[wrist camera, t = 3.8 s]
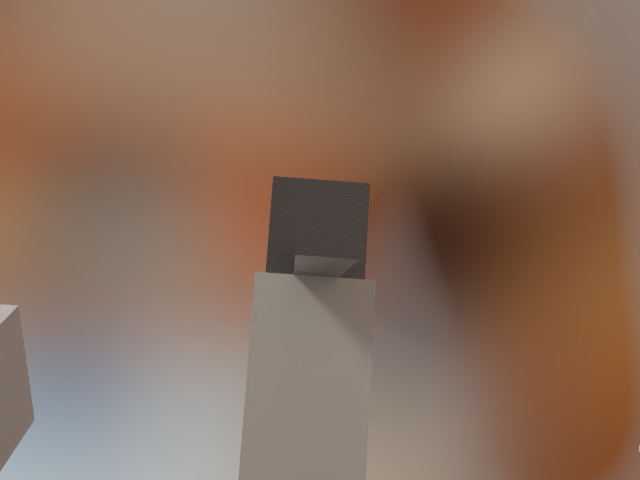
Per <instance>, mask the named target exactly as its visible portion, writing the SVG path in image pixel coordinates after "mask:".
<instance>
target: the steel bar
mask: <svg viewBox="0 0 640 480" xmlns="http://www.w3.org/2000/svg"><path fill="white" fill-rule="evenodd" d="M369 190H370V184H369V183H355V182H342V181H329V180H316V179H303V178H289V177H277V176H274V177H273V186H272V199H271V213H270V225H269V238H268V250H267V264H266V273H279V274H294V275H308V276H323V277H337V278H352V279H365V263H366V244H367V226H368V209H369Z"/></svg>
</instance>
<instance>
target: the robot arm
mask: <svg viewBox="0 0 640 480" xmlns="http://www.w3.org/2000/svg"><path fill="white" fill-rule="evenodd" d="M33 421H34V413H33V406H32V399H31V391H30V385H29V377H28V371H27V363H26V356H25V349H24V341H23V335H22V327H21V320H20V313H19V306H17V305H1V304H0V471H1V469H2V468H3V466H4V465H5V463H6V462H7V460H8V459H9V457H10V456H11V454H12V453H13V451H14V450H15V448H16V447H17V445H18V444H19V442H20V441H21V439H22V438H23V436H24V435H25V433H26V432H27V430H28V428H29V427H30V426H31V424H32V423H33ZM639 451H640V447H639Z"/></svg>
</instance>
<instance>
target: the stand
mask: <svg viewBox="0 0 640 480" xmlns="http://www.w3.org/2000/svg"><path fill="white" fill-rule="evenodd" d="M375 286H376V280H366V279H352V278H337V277H323V276H308V275H294V274H279V273H265V272H255V280H254V293H253V305H252V318H251V330H250V343H249V356H248V368H247V381H246V394H245V406H244V418H243V431H242V443H241V456H240V469H239V480H365V475H366V456H367V437H368V418H369V399H370V381H371V362H372V361H371V360H372V342H373V324H374V304H375Z"/></svg>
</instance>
